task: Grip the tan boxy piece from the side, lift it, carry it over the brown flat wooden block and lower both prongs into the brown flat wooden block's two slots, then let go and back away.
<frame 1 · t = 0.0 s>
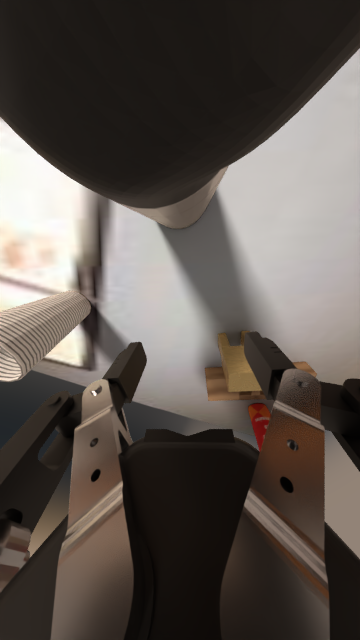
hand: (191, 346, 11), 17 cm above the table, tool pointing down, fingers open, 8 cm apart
tan boxy piece: (233, 338, 31), on the table
cup: (77, 303, 29), on the table
brown flat wooden block: (251, 376, 37), on the table
paper cup: (256, 407, 45), on the table
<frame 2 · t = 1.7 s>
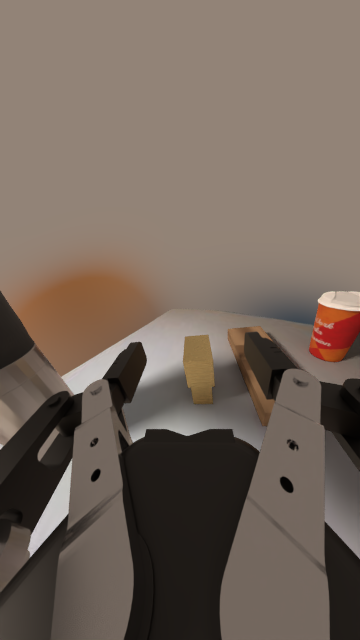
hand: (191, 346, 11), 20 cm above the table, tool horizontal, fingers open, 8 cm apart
tan boxy piece: (202, 388, 29), on the table
brown flat wooden block: (259, 367, 32), on the table
paper cup: (324, 354, 33), on the table
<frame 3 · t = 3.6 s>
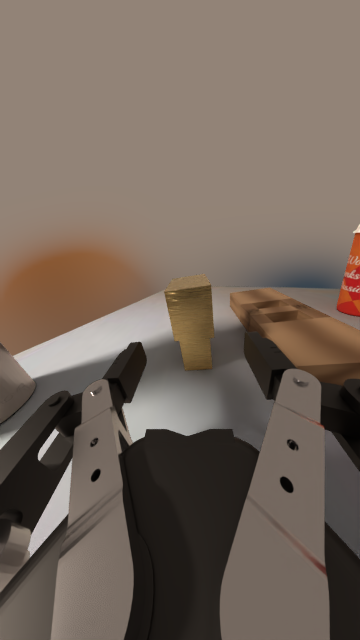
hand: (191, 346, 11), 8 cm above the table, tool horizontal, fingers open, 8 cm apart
tan boxy piece: (197, 353, 21), on the table
brown flat wooden block: (274, 328, 24), on the table
paper cup: (358, 311, 25), on the table
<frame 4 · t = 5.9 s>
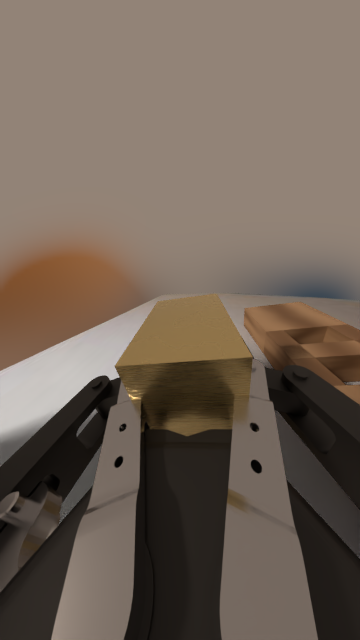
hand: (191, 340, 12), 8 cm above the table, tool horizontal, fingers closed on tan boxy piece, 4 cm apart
tan boxy piece: (201, 427, 12), on the table, touching gripper
brown flat wooden block: (324, 374, 15), on the table
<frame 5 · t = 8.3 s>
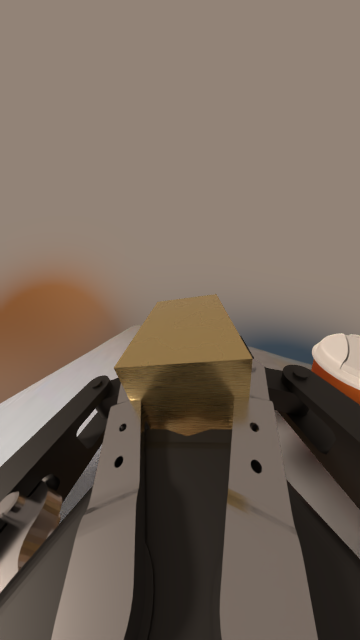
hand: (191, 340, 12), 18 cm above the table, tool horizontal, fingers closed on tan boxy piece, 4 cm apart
tan boxy piece: (201, 428, 12), point 10 cm above the table, touching gripper
paper cup: (326, 437, 18), on the table
when the fingers open (9 cm above the table, at t = 10.9 s): tan boxy piece drops 1 cm, resting in brown flat wooden block.
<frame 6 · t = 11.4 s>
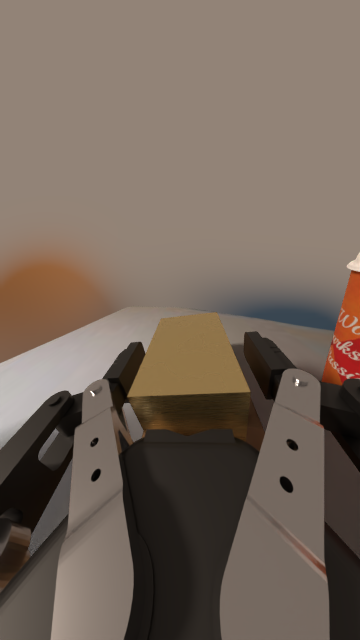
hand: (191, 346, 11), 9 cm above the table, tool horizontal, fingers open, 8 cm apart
tan boxy piece: (202, 437, 13), resting in brown flat wooden block
brown flat wooden block: (203, 436, 13), on the table
paper cup: (359, 401, 14), on the table
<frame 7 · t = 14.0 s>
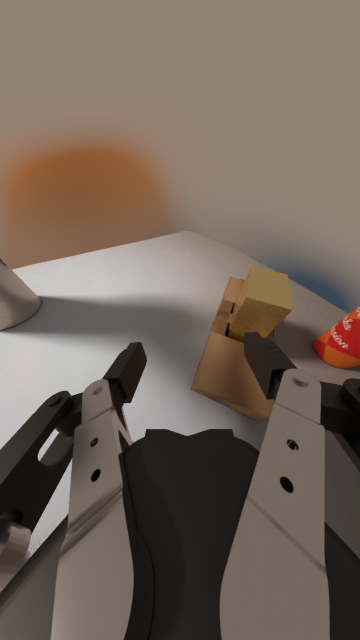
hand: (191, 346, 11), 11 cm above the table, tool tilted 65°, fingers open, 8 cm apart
tan boxy piece: (236, 334, 25), resting in brown flat wooden block
brown flat wooden block: (236, 334, 25), on the table
paper cup: (329, 353, 24), on the table
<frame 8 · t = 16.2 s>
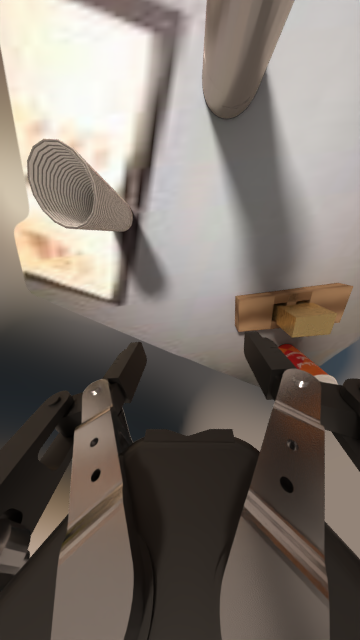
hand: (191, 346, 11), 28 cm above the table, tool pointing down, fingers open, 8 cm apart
tan boxy piece: (281, 306, 37), resting in brown flat wooden block
cup: (120, 216, 31), on the table
brown flat wooden block: (281, 306, 37), on the table
paper cup: (283, 350, 44), on the table
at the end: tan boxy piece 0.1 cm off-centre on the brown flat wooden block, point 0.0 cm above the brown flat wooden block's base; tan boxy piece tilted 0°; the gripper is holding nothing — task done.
